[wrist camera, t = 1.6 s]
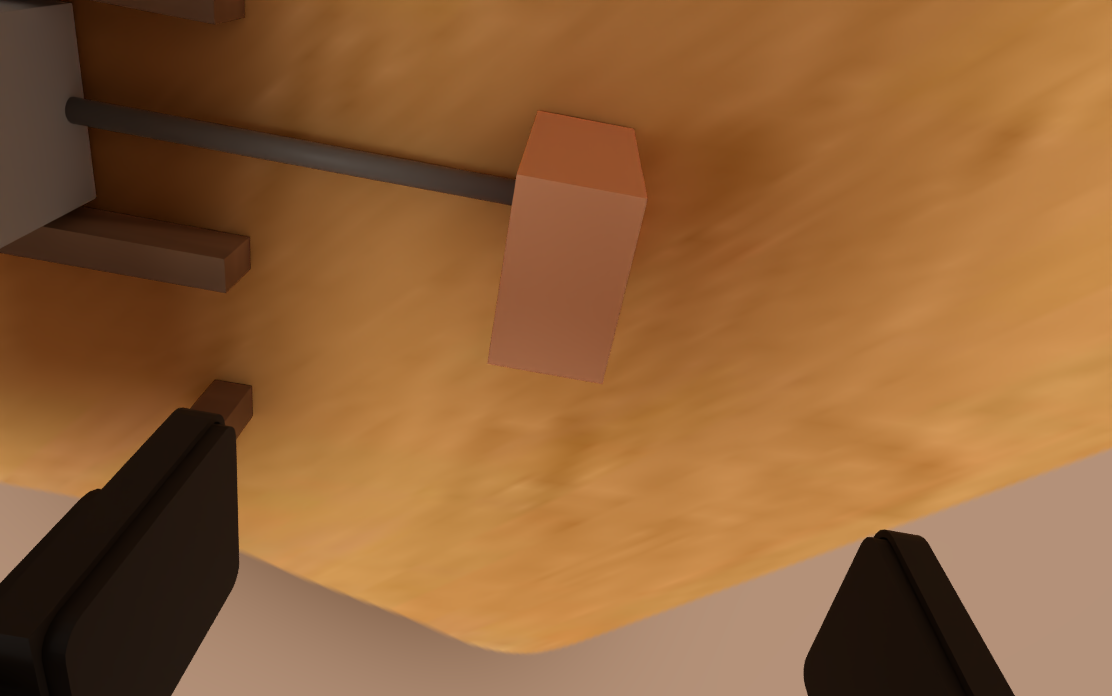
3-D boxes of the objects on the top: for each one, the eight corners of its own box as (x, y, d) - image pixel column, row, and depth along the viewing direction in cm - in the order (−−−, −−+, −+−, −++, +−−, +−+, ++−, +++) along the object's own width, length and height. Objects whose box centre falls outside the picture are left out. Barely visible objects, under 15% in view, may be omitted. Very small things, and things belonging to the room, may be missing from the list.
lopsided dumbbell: (-137, -38, 22) (-423, -27, 16) (637, 112, 23) (653, 177, 17) (-88, 164, 25) (-313, 239, 19) (598, 289, 26) (598, 400, 20)
